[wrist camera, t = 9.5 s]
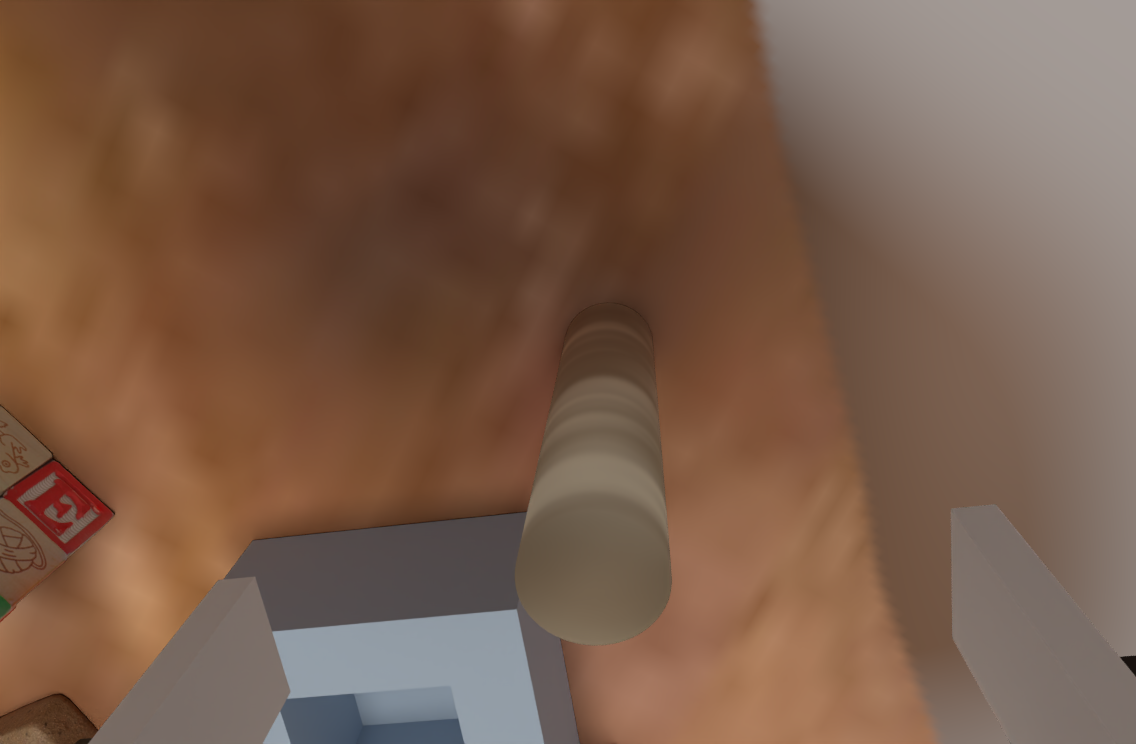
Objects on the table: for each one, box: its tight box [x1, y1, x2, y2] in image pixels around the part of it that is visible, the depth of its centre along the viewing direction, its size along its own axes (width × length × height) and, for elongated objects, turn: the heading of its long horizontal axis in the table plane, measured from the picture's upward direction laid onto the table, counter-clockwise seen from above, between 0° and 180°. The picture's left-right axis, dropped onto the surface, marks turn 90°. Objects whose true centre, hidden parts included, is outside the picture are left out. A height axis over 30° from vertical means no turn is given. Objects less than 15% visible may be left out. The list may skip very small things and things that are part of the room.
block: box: [223, 512, 580, 744], centre depth 32 cm, size 11×11×6 cm
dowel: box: [515, 303, 672, 645], centre depth 23 cm, size 3×3×14 cm
